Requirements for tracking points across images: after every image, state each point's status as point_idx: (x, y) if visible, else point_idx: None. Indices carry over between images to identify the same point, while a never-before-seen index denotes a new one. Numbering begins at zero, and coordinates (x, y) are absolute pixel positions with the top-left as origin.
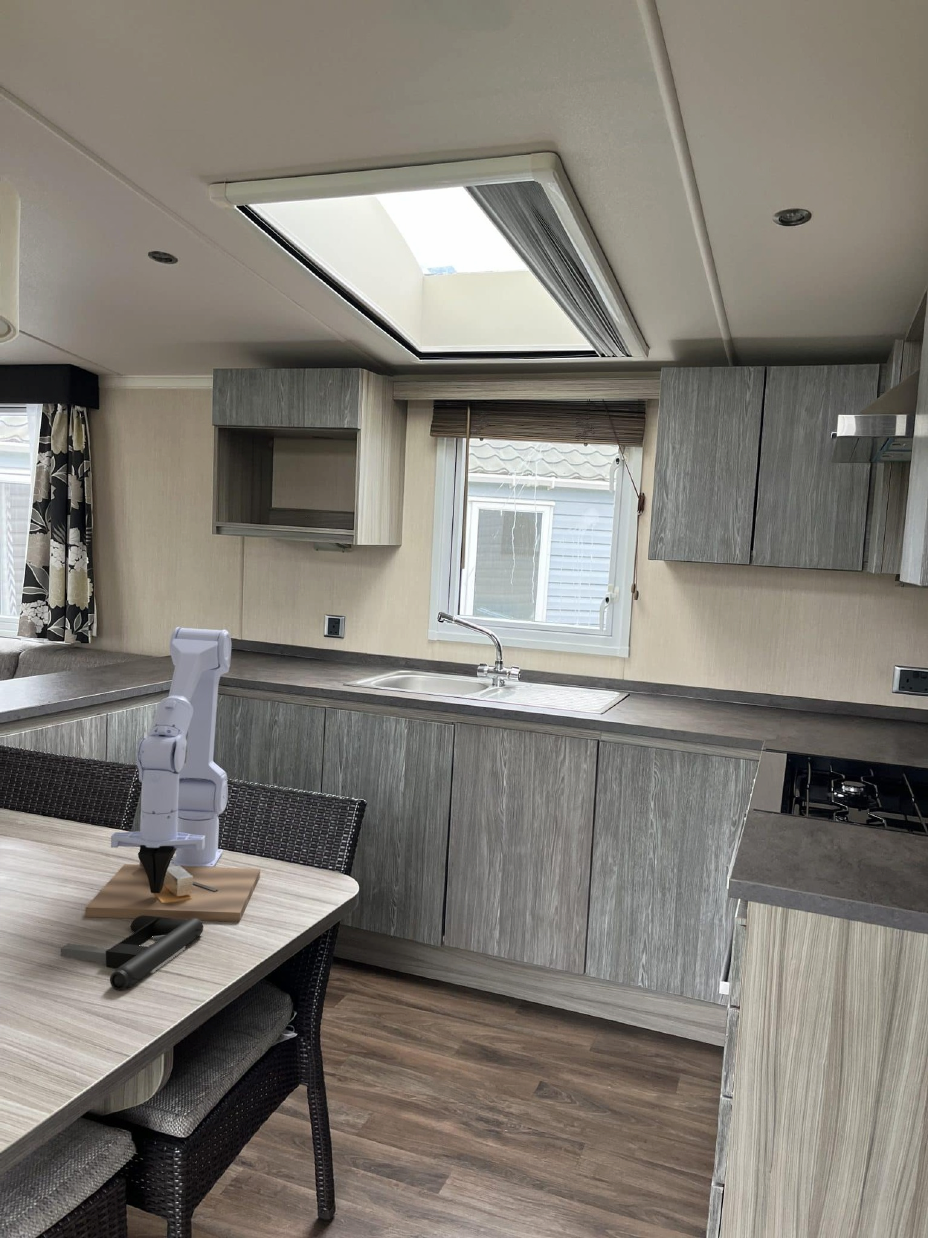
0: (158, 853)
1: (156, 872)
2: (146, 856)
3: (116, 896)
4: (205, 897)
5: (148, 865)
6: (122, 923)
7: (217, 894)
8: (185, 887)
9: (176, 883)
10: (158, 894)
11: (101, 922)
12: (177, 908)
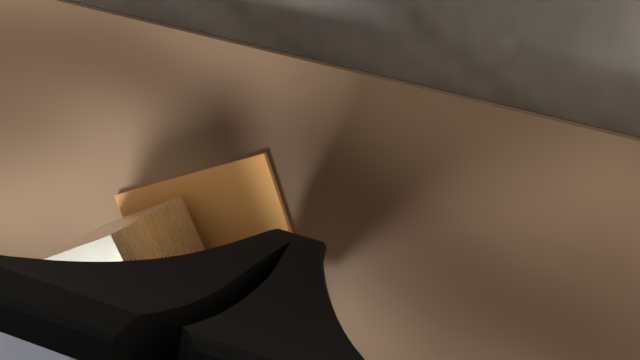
0: (59, 352)
1: (234, 274)
2: (266, 356)
3: (542, 320)
4: (55, 199)
5: (287, 320)
6: (498, 22)
7: (8, 229)
8: (109, 227)
9: (141, 238)
10: None
11: (632, 56)
12: (175, 61)
